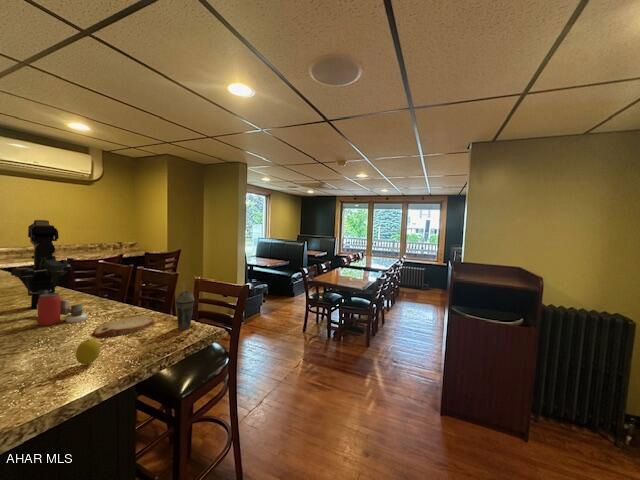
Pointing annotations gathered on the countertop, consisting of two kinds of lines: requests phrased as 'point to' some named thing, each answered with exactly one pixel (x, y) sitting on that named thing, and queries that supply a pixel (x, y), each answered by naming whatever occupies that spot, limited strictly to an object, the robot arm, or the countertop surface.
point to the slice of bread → (123, 326)
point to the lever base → (76, 318)
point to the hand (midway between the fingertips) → (43, 289)
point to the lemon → (87, 352)
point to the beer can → (49, 309)
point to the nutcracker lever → (66, 306)
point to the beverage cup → (184, 309)
